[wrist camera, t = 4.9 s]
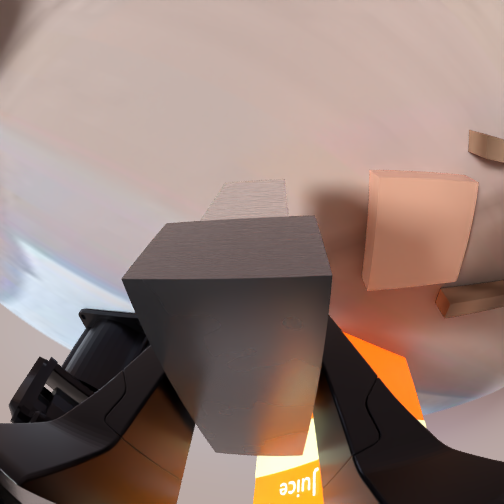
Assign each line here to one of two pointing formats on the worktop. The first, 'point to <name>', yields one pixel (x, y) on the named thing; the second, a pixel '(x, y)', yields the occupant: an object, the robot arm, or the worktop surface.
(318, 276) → the grey block
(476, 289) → the bay
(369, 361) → the orange juice
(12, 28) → the worktop surface
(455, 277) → the tile
